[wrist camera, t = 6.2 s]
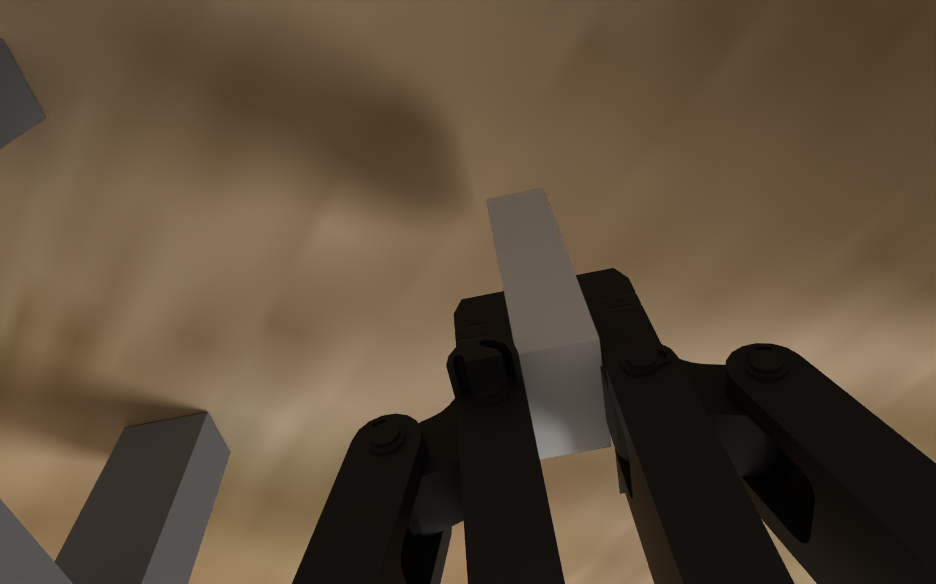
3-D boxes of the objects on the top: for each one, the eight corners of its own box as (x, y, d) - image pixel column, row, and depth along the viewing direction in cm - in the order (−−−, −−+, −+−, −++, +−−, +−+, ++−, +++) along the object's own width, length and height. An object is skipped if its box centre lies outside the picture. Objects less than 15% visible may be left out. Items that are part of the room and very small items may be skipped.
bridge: (2, 38, 16) (-373, 196, 9) (230, 452, 24) (140, 730, 16) (-113, 65, 17) (-581, 243, 9) (150, 467, 24) (24, 750, 17)
